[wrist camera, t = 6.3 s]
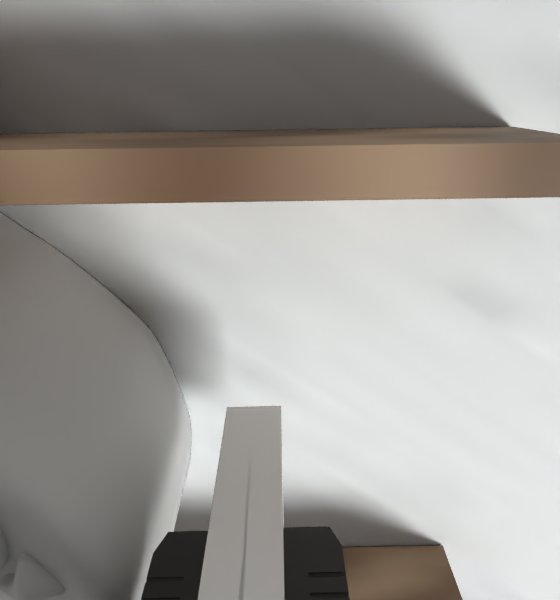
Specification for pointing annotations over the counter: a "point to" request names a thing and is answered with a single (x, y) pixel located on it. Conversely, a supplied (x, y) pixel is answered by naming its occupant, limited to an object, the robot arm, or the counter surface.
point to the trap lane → (293, 187)
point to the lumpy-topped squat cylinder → (81, 432)
